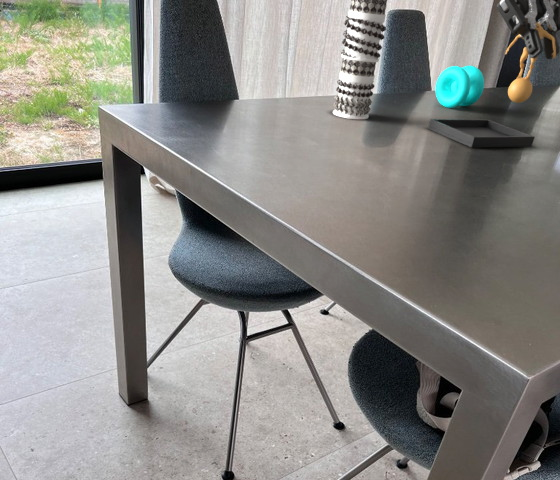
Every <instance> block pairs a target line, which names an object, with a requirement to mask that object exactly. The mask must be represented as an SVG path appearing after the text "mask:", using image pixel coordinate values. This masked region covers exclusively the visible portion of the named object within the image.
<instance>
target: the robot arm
mask: <svg viewBox="0 0 560 480" xmlns="http://www.w3.org/2000/svg"><path fill="white" fill-rule="evenodd" d="M496 9H497V11H498V12H499V14H500V16H501V17H502V19H503V21H504V23H505V24H506V25H507V28H508V29H509V30H510V32H511V34H512V35H514V36H517V35H519V34H520V36H521V39H522V40H523V41H524V44H525V47H526V48H527V51H528V53H529V54H528V57H529V58H530V59H531V58H536V57H537V58H538V56H539V55H541V54H542V53H543V52H544V56H545V59H547V60H552V59H553V58H554V57H553V55H552V53H553V52H554V51H553V47H552V40H550V39H548V38H546V37H544V36H543V37H542V38H541V40H540V36H539V33H538V30H535V29H536V28H537V26H536V23H539V24H540V26H541V27H542V28H543V30H545V31H547V32H548V33H549V34H550V35H552V36H553V37H554V38H555V46H556V56H557V55H559V53H560V45H559V41H558V38H557V33H558V32H560V0H557V1H555V0H499V2H497V4H496ZM514 18H515V21H514ZM545 25H546V28H545ZM552 57H553V58H552Z"/></svg>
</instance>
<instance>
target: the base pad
mask: <svg viewBox="0 0 560 480" xmlns="http://www.w3.org/2000/svg"><path fill="white" fill-rule="evenodd" d="M427 129H428V130H430V131H431V132H435V133H437V134H439V135H441V136H444V137H446V138H448V139H450V140H452V141H455V142H457V143H460V144H462V145H464V146H466V147H468V148H471V149H473V148H478V149H479V148H480V149H481V148H525V147H526V148H528V147H530V148H531V147H532V146H533V144H534V141H535V137H536V136H535V135H531V134H528V133H525V132H523V131H521V130H518V129H516V128H513V127H510V126H507V125H504V124H502V123H499V122H496V121H493V120H491V119H480V118H479V119H474V118H473V119H470V118H469V119H468V118H467V119H461V118H447V119H446V118H430V119H429V123H428V128H427Z"/></svg>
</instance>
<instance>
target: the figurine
mask: <svg viewBox="0 0 560 480" xmlns="http://www.w3.org/2000/svg"><path fill="white" fill-rule="evenodd" d="M536 26H537V28H536V29H535V30H538V33H539V36H540V40H542V39H541V38H542V37H543V36H544V37H546V38H548V39H550V40H552V47H553V51H554V52H553V53H552V55H553V57H552V59H553V60H554V59H556V56H557V55H556V46H555V38H554V37H553V36H552V35H550V34H549V33H548V32H547V31H546V29H545V30H543V28H542V27H541V26H540V24H539V23H536ZM520 38H521V36H520V34H516V35H515V38H514V39H513V40H512V42H511V43H510V44H509V46H508V47H506V50H505V55H508V52H509V51H510V49H511V48H512V47H513V46H514V45H515V44H516V42H517V41H518V39H520ZM521 39H522V38H521ZM528 57H529V53H528V51H527V48H526V46H524V48H523V51H522V54H521V55H520V60H519V67H520V71H519V73H518V75H517V76H516V79H514V80H513V81H512V82H511V83H510V84H509V86H508V89H507V95H508V98H509V100H510V101H511V102H513V103H515V104H516V103H517V104H520V103H521V104H522V103H524V102H526V101H527V100H528V99H529V98H530V97H531V95H532V93H533V83H532V82H531V80H530V78H531V75H532V72H533V69H534V67H535V63H536V61H537V59H538V56H537V57H536V58H530V65H529V69H528V72H527V74H526V76H525V77H522V76H523V72H524V69H525V63H524V62H525V61H526V60H527V59H528Z"/></svg>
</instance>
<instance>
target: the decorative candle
mask: <svg viewBox="0 0 560 480" xmlns="http://www.w3.org/2000/svg"><path fill="white" fill-rule="evenodd" d="M387 3H388V0H351V1H350V7H349V10H348V13H347V14H348V15H347V16H345V17H346V18H347V19H345V20H344V22H343V25H344V26H345V28H346V29H345V30H344V31H343V33H342V36H343V37H344V38H343V39H342V41H341V44H342V45H343V46H344V48H343V49H341V52H340V53H341V56H340V58H342V61H341V67H340V68H341V69H340V71H339V77H338V78H339V79H337V81H336V84H337V85H338V86H337V87H336V88H335V91H336V92H337V94H336V95H335V96H334V101H335V102H334V103H333V108H334V109H333V111H332V114H333V115H334V116H337V117H340V118H344V119H349V120H367V119H369V113H370V111H371V107H370V106H371V105H372V102H373V101H372V99H371V97H372V96H373V95H374V92H373V91H372V90H373V89H374V88H375V84H374V82H375V77H376V75H375V71H376V65H377V63H378V62H379V61H380V58H381V54H380V53H379V51H381V50H382V49H383V46H382V45H381V44H380V41H382V40H384V39H385V35H384V34H383V33H384V32H385V31H386V30H387V27H386V26H385V25H384V24H385V22H386V17H387V16H386V15H387V14H386V11H387V10H386V9H387Z"/></svg>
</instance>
